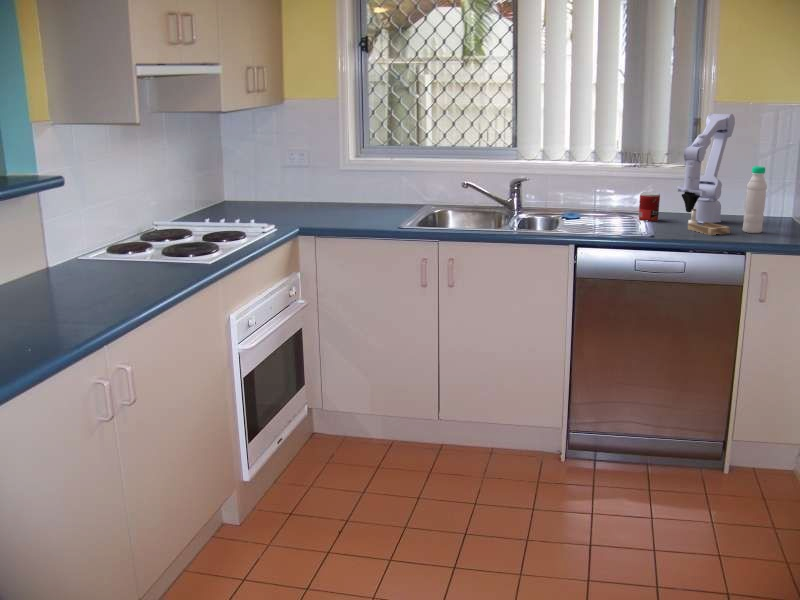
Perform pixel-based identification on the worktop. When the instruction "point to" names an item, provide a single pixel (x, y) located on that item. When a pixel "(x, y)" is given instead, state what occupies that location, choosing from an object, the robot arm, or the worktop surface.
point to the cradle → (709, 228)
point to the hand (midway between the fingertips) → (689, 211)
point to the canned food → (649, 206)
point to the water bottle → (755, 201)
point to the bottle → (693, 217)
